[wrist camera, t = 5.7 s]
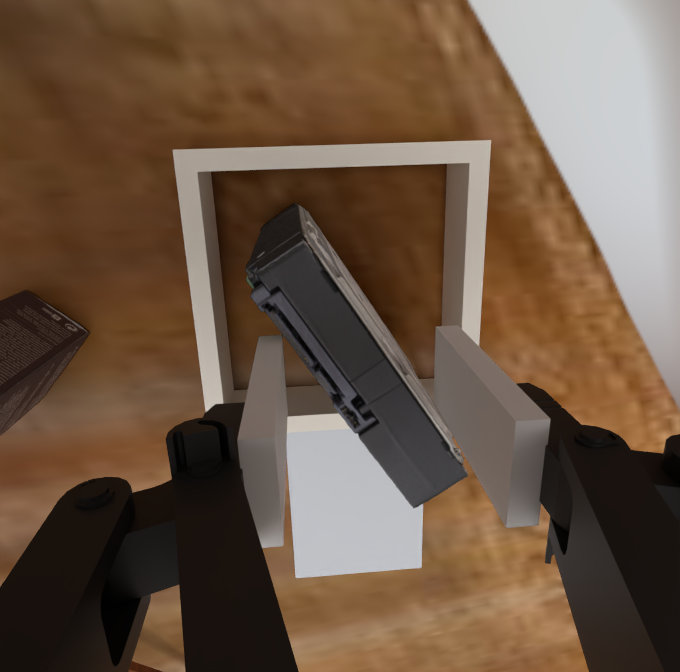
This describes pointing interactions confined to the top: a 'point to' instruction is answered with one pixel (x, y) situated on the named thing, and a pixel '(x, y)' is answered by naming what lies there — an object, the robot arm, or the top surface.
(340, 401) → the disk drive
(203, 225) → the storage box
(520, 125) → the top surface
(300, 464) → the mat
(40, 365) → the box
